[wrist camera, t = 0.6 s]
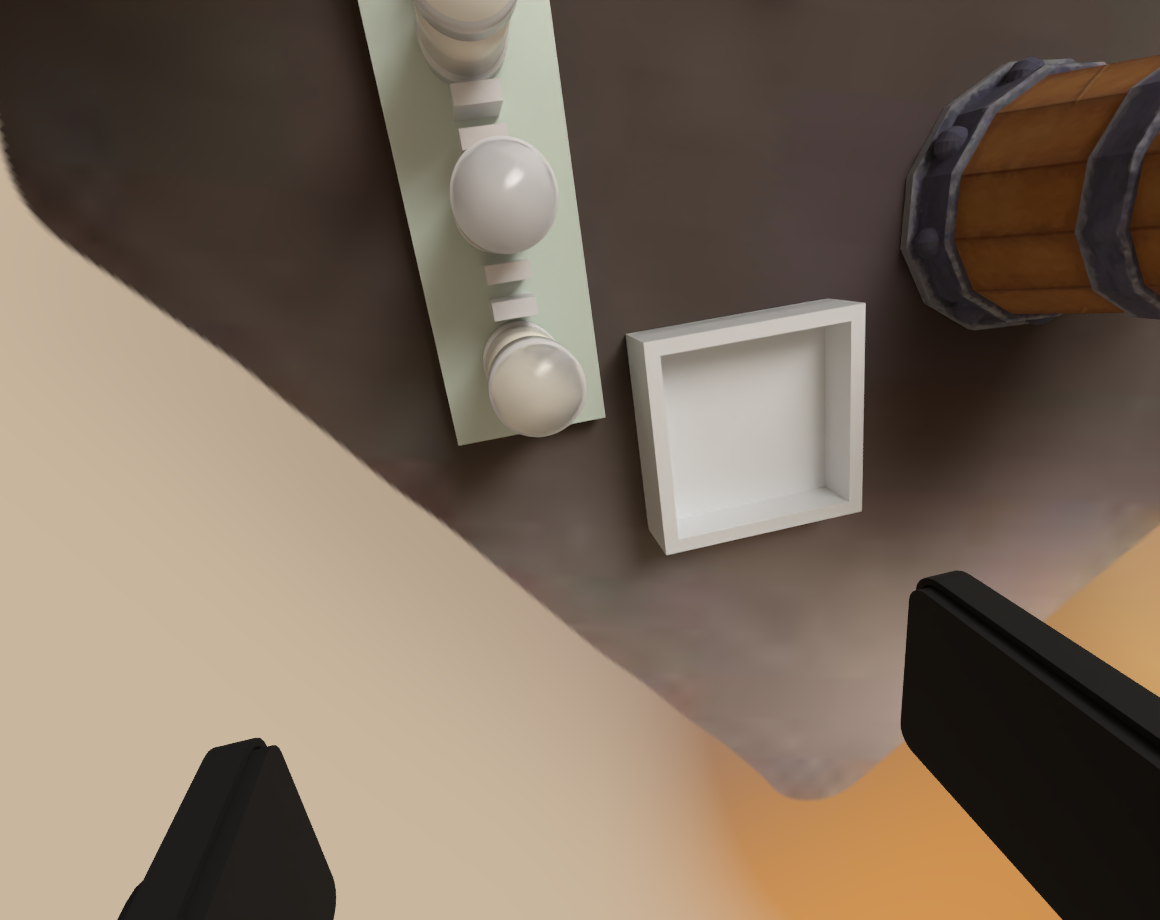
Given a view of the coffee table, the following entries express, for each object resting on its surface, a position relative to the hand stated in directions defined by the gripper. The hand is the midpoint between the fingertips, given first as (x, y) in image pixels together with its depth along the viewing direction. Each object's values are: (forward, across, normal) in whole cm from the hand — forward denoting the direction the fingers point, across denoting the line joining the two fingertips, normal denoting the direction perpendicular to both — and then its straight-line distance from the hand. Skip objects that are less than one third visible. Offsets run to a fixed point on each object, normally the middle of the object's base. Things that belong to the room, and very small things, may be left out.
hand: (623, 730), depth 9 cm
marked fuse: (+24, -1, -8) cm, 26 cm away
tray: (+26, -13, +5) cm, 29 cm away
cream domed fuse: (+24, -1, -15) cm, 29 cm away
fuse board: (+26, -1, -8) cm, 27 cm away
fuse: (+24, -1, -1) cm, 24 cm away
